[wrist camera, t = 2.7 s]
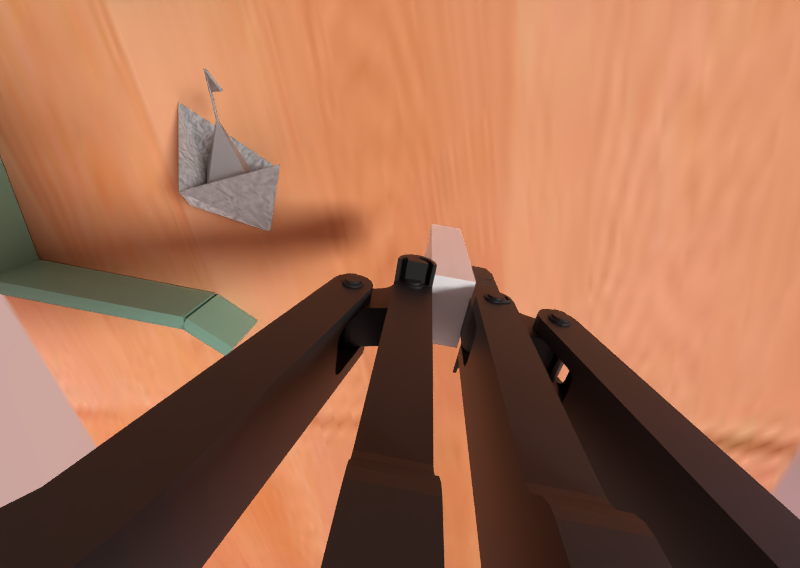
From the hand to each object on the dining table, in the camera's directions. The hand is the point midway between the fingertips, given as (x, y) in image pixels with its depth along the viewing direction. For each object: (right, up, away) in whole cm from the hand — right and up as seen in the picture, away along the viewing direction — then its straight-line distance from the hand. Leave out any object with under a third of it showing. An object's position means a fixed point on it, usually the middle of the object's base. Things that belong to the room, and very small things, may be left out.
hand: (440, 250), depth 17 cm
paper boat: (-12, +7, +6) cm, 15 cm away
